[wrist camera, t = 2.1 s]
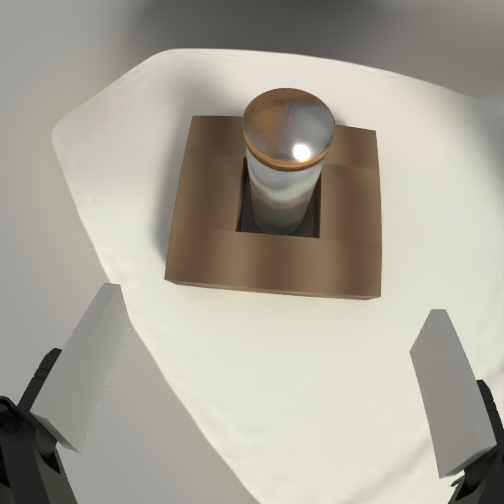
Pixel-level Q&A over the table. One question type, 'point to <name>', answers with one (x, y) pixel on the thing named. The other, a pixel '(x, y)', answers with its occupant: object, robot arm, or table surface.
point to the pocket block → (268, 245)
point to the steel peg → (285, 155)
